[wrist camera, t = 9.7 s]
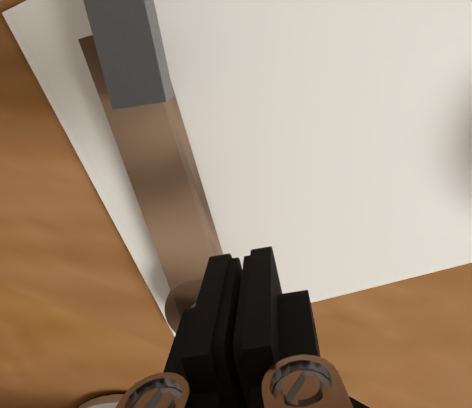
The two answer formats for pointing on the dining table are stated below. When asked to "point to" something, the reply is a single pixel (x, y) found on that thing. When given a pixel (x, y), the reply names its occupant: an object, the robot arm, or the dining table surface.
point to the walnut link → (163, 188)
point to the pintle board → (293, 130)
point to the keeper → (130, 51)
